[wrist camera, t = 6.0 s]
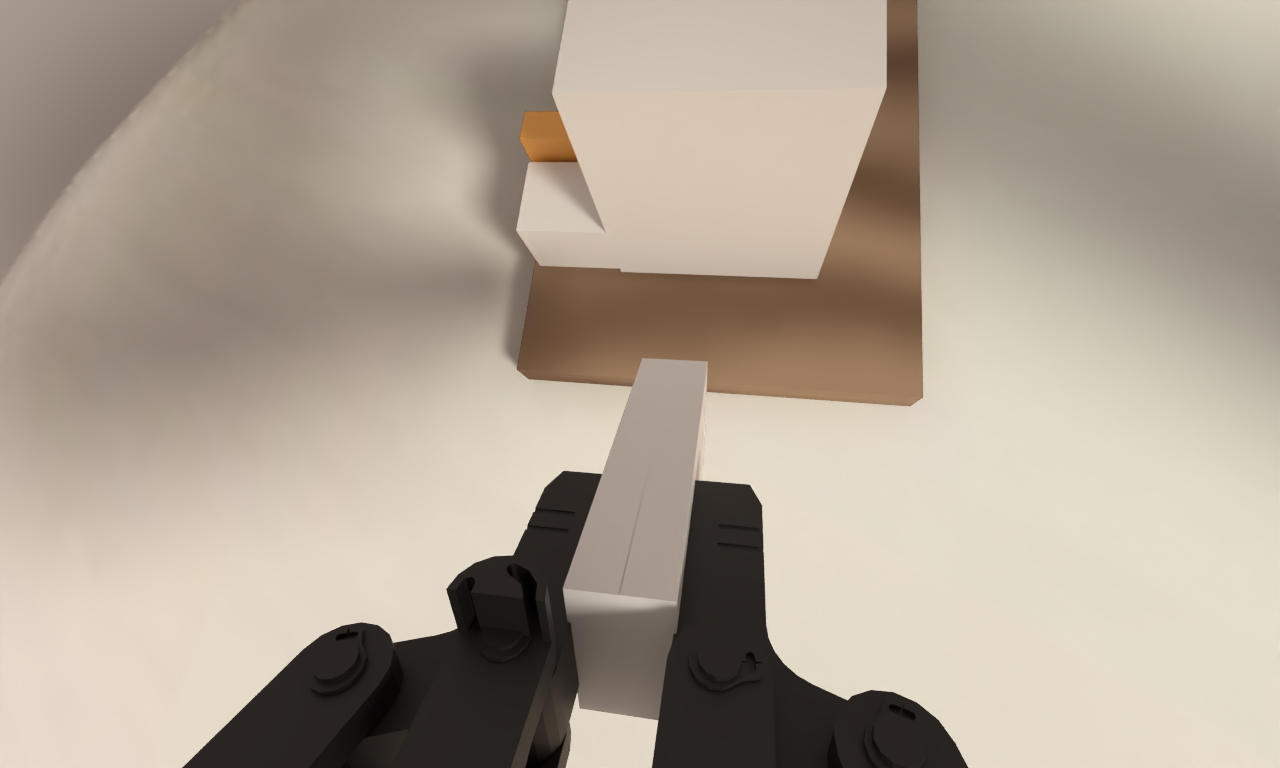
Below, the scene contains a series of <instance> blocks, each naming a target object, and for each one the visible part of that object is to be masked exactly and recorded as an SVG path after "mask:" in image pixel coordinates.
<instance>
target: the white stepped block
mask: <svg viewBox="0 0 1280 768" xmlns="http://www.w3.org/2000/svg"><path fill="white" fill-rule="evenodd" d="M886 88H887V0H568V5H567V10H566V16H565V22H564V27H563V33H562V39H561V44H560V50H559V56H558V61H557V67H556V73H555V78H554V84H553V90H552V96H553V98H554V101H555V103H556V106H557V108H558V111H559V114H560V116H561V119H562V121H563V124H564V126H565V129H566V132H567V134H568V137H569V139H570V142H571V144H572V147H573V150H574V152H575V155H576V157H577V160H578V162H528V168H527V173H526V179H525V184H524V190H523V195H522V201H521V206H520V212H519V217H518V223H517V228H516V231H517V233H518V234H519V236H520V237H521V239H522V240H523V242H524V243H525V244H526V246H527V247H528V249H529V250H530V252H531V253H532V255H533V256H534V258H535V259H536V261H537V262H538V264H539V265H540V266H558V267H586V268H615V269H620V270H621V272H637V273H664V274H692V275H719V276H746V277H774V278H801V279H817V278H818V275H819V272H820V269H821V267H822V264H823V261H824V258H825V256H826V253H827V250H828V247H829V245H830V242H831V239H832V236H833V234H834V231H835V228H836V225H837V223H838V220H839V217H840V215H841V212H842V209H843V206H844V204H845V201H846V198H847V195H848V193H849V190H850V187H851V184H852V182H853V179H854V176H855V173H856V171H857V168H858V165H859V162H860V160H861V157H862V154H863V151H864V149H865V146H866V143H867V140H868V138H869V135H870V132H871V129H872V127H873V124H874V121H875V118H876V116H877V113H878V110H879V107H880V105H881V102H882V99H883V96H884V94H885V91H886Z"/></svg>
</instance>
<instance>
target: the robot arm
mask: <svg viewBox="0 0 1280 768" xmlns="http://www.w3.org/2000/svg"><path fill="white" fill-rule="evenodd" d="M707 364H708V361H689V360H670V359H650V358H642V361H641V364H640V367H639V369H638V372H637V375H636V378H635V381H634V384H633V387H632V390H631V393H630V395H629V398H628V401H627V404H626V407H625V410H624V413H623V416H622V419H621V421H620V424H619V427H618V430H617V433H616V436H615V439H614V442H613V445H612V447H611V450H610V453H609V456H608V459H607V462H606V465H605V468H604V471H603V474H594V473H583V472H571V471H563V472H562V473H561V474H560V475H559V476H557V477H556V478H555V479H554V480H553V481H552V482H551V483H550V484H549V485H547V486H546V487H545V489H544V491H543V493H542V495H541V497H540V500H539V502H538V504H537V506H536V510H535V512H533V515H532V517H531V519H530V521H529V523H528V527H527V530H526V529H525V532H524V534H523V536H522V538H521V540H520V542H519V544H518V547H517V549H516V551H515V553H514V555H513V556H494V557H491V558H488V559H485V560H482V561H479V562H476V563H474V564H473V565H471V566H470V567H468V568H467V569H466V570H464V571H463V572H461V573H460V574H458V575H457V577H456V578H455V579H454V580H453V582H452V583H451V584H450V585H449V587H448V588H447V589H446V590H447V593H448V597H449V600H450V603H451V607H452V610H453V614H454V617H455V620H456V624H457V627H458V628H457V629H455V630H453V631H450V632H447V633H443V634H440V635H436V636H430V637H424V638H418V639H413V640H407V641H401V642H396V643H393V642H392V639H391V637H390V634H388V633H387V632H386V631H385V630H383V629H382V628H381V627H380V626H378V625H373V624H368V623H356V624H350V625H344V626H341V627H339V628H336V629H334V630H332V631H330V632H328V633H326V634H323V635H321V636H320V637H319V638H318V639H316V640H315V641H314V642H312V643H311V644H310V645H309V646H307V647H306V648H305V649H303V650H302V651H301V652H300V653H299V654H298V655H297V656H296V657H295V658H294V659H293V660H292V661H291V662H290V663H289V664H288V665H287V666H286V667H285V668H284V669H283V670H282V671H281V672H280V673H279V674H278V675H277V676H276V677H275V678H274V679H273V680H272V681H271V682H270V683H269V684H268V685H266V686H265V687H264V688H263V689H262V690H261V691H260V692H259V693H258V694H257V695H256V696H255V697H254V698H253V699H252V700H251V701H250V702H249V703H248V704H247V705H246V706H245V707H244V708H243V709H242V710H241V711H240V712H239V713H238V714H237V715H236V716H235V717H234V718H233V719H232V720H231V721H230V722H229V723H228V724H227V725H226V726H225V727H224V728H222V729H221V730H220V731H219V732H218V733H217V734H216V735H215V736H214V737H213V738H212V739H211V740H210V741H209V742H208V743H207V744H206V745H205V746H204V747H203V748H202V749H201V750H200V751H199V752H198V753H197V754H196V755H195V756H194V757H193V758H192V759H191V760H190V761H189V762H188V763H187V764H186V765H185V766H184V767H183V768H565V767H566V763H567V759H568V755H569V751H570V741H571V729H570V723H569V720H570V717H571V713H572V709H573V705H574V702H575V698H576V694H577V692H578V699H579V706H580V708H582V709H588V710H595V711H601V712H608V713H615V714H621V715H628V716H634V717H641V718H648V719H654V720H658V727H657V735H656V742H655V750H654V757H653V764H652V768H968V766H967V765H966V763H965V761H964V759H963V757H962V755H961V753H960V751H959V750H958V748H957V746H956V744H955V742H954V741H953V740H952V738H951V737H950V735H949V734H948V733H947V731H946V730H945V729H944V727H943V726H942V724H941V723H940V722H939V720H938V719H936V718H935V717H934V716H933V715H931V714H930V713H929V712H928V711H927V710H925V709H924V708H923V707H922V706H920V705H919V704H918V703H917V702H914V701H912V700H910V699H907V698H905V697H903V696H901V695H898V694H896V693H894V692H885V691H875V690H870V691H867V692H863V693H860V694H857V695H854V696H852V697H851V698H850V699H849V700H845V699H843V698H841V697H839V696H837V695H834V694H832V693H830V692H828V691H826V690H823V689H821V688H819V687H817V686H815V685H813V684H811V683H809V682H807V681H806V680H804V679H802V678H800V677H799V676H797V675H796V674H795V673H794V672H792V671H791V670H790V669H789V668H788V667H787V666H786V665H784V663H783V662H782V661H781V659H780V658H779V657H778V655H777V654H776V653H775V651H774V649H773V647H772V645H771V643H770V641H769V638H768V633H767V628H766V609H765V580H764V552H763V522H762V505H761V503H760V501H759V500H758V498H757V496H756V495H755V493H754V491H753V490H752V488H751V486H750V485H745V484H734V483H722V482H710V481H702V472H703V463H704V445H705V418H706V391H707Z"/></svg>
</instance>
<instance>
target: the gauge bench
mask: <svg viewBox="0 0 1280 768" xmlns="http://www.w3.org/2000/svg"><path fill="white" fill-rule="evenodd" d="M642 358H650V359H670V360H689V361H708V364H707V391H706V392H718V393H732V394H746V395H760V396H774V397H788V398H802V399H816V400H830V401H844V402H858V403H873V404H887V405H901V406H911V405H913V404H914V403H915V402H917V401H918V400H920V399H921V398H923V366H922V301H921V235H920V169H919V104H918V38H917V0H887V88H886V91H885V94H884V96H883V99H882V102H881V105H880V107H879V110H878V113H877V116H876V118H875V121H874V124H873V127H872V129H871V132H870V135H869V138H868V140H867V143H866V146H865V149H864V151H863V154H862V157H861V160H860V162H859V165H858V168H857V171H856V173H855V176H854V179H853V182H852V184H851V187H850V190H849V193H848V195H847V198H846V201H845V204H844V206H843V209H842V212H841V215H840V217H839V220H838V223H837V225H836V228H835V231H834V234H833V236H832V239H831V242H830V245H829V247H828V250H827V253H826V256H825V258H824V261H823V264H822V267H821V269H820V272H819V275H818V278H817V279H801V278H774V277H746V276H719V275H692V274H664V273H637V272H621V270H620V269H615V268H586V267H558V266H540V265H539V264H538V262H537V261H536V260H535V266H534V272H533V278H532V284H531V290H530V295H529V301H528V307H527V313H526V319H525V325H524V331H523V337H522V343H521V348H520V354H519V360H518V366H517V370H518V371H519V372H521V373H522V374H523V375H524V376H526V377H527V378H528V379H535V380H549V381H563V382H577V383H591V384H605V385H619V386H633V384H634V381H635V378H636V375H637V372H638V369H639V367H640V364H641V361H642Z"/></svg>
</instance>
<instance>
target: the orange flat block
mask: <svg viewBox="0 0 1280 768" xmlns="http://www.w3.org/2000/svg"><path fill="white" fill-rule="evenodd" d="M520 140H521V142H522V144H523V146H524V148H525V150H526V152H527V154H528V156H529V158H530V160H531V162H578V160H577V157H576V155H575V152H574V150H573V147H572V144H571V142H570V139H569V137H568V134H567V132H566V129H565V126H564V124H563V121H562V119H561V116H560V114H559V111H534V112H525V113H524V118H523V123H522V129H521V134H520Z"/></svg>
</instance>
